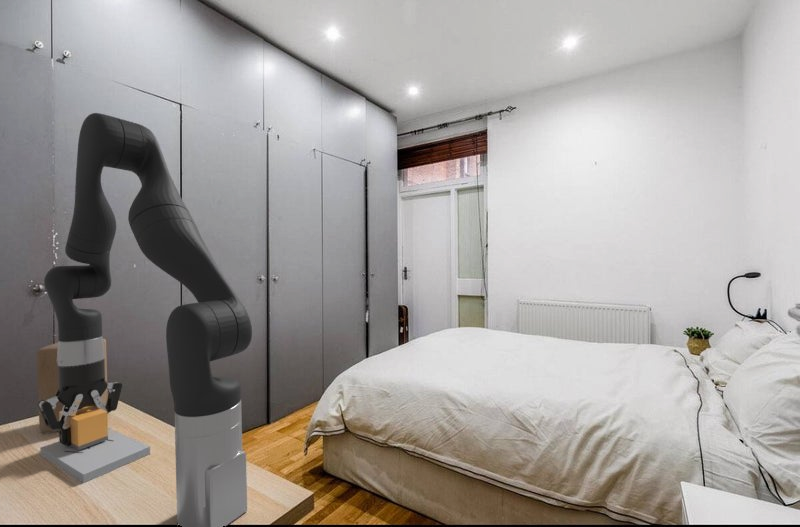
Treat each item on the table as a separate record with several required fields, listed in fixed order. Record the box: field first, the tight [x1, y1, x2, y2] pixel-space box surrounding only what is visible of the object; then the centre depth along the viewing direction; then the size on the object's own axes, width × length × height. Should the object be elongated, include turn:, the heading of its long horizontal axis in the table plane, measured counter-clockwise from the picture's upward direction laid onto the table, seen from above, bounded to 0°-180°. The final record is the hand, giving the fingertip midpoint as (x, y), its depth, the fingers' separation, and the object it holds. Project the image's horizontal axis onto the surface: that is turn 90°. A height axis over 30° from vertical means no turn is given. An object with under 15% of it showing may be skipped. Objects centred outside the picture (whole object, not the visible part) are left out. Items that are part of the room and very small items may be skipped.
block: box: [36, 338, 109, 434], centre depth 90 cm, size 10×10×20 cm
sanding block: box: [59, 406, 109, 450], centre depth 78 cm, size 9×5×6 cm, turn 61°
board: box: [39, 427, 151, 484], centre depth 75 cm, size 20×11×2 cm, turn 61°
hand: (84, 438), depth 78 cm, fingers closed on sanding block, 5 cm apart
